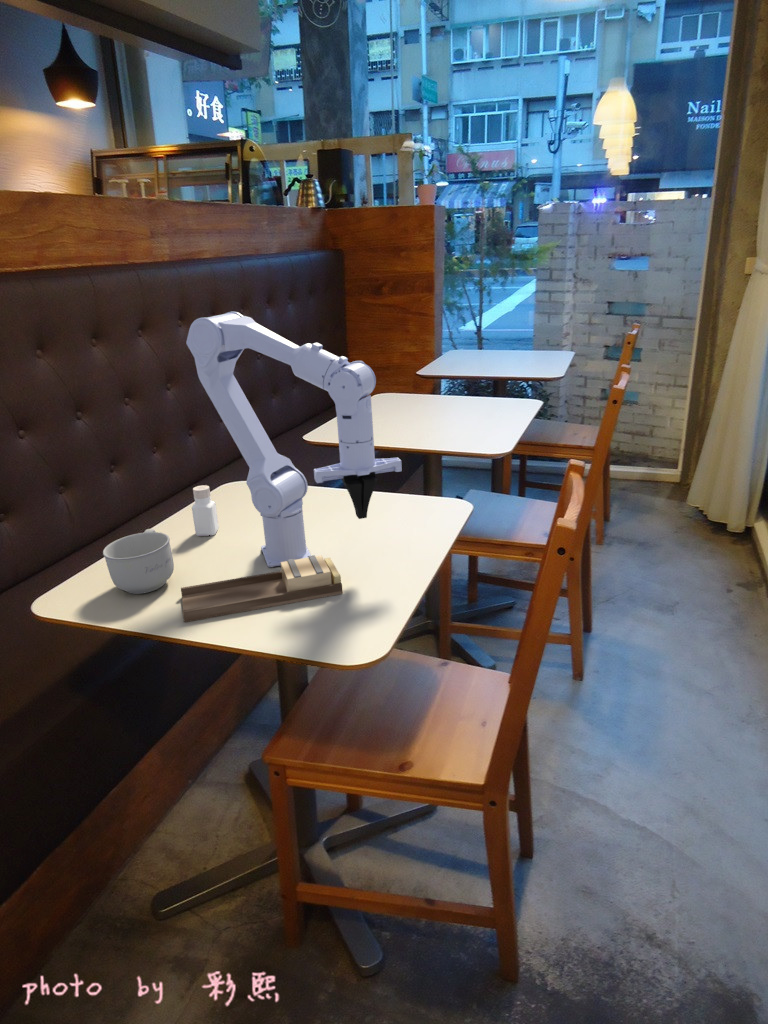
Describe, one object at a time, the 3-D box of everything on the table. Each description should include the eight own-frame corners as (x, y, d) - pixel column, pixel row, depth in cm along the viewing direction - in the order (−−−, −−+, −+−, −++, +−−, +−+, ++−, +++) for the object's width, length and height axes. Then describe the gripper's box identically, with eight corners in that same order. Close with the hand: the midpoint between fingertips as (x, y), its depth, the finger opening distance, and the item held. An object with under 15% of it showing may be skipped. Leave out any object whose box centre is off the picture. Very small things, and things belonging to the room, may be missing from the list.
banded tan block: (282, 579, 126) (280, 560, 125) (323, 572, 128) (321, 553, 126) (289, 597, 120) (287, 577, 118) (332, 589, 121) (330, 570, 120)
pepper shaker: (215, 536, 147) (208, 490, 144) (195, 537, 148) (188, 491, 144) (219, 528, 151) (213, 484, 148) (200, 529, 151) (193, 485, 148)
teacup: (159, 602, 122) (151, 557, 119) (98, 599, 124) (89, 555, 121) (194, 565, 135) (188, 524, 132) (139, 564, 137) (131, 523, 134)
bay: (182, 597, 123) (179, 581, 122) (330, 571, 129) (329, 556, 128) (184, 622, 115) (181, 605, 114) (342, 593, 121) (341, 577, 120)
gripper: (317, 450, 117) (324, 531, 121) (405, 439, 120) (409, 517, 125) (308, 439, 123) (315, 516, 128) (393, 429, 127) (396, 504, 131)
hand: (361, 516), depth 127 cm, fingers closed
